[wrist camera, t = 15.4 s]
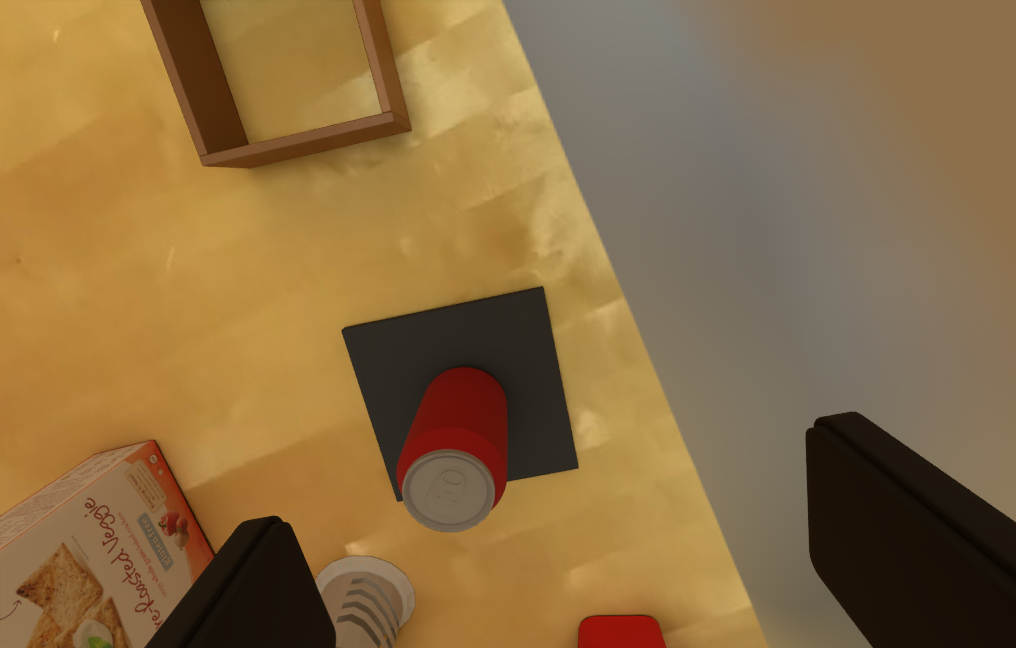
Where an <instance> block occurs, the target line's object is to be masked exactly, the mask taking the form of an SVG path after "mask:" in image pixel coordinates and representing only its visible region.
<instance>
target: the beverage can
mask: <svg viewBox="0 0 1016 648" xmlns="http://www.w3.org/2000/svg"><path fill="white" fill-rule="evenodd" d="M507 445H508V430H507V400H506V396H505V393H504V391H503V389H502V387H501V386H500V384H499V383H498V382H497V381H496V380H495V379H494V378H493V377H492V376H490V375H489V374H487V373H485V372H484V371H481V370H478V369H475V368H469V367H459V368H453V369H450V370H447V371H445V372H443V373H441V374H440V375H438V376H437V377H436V378H435V379H434V380H433V381H432V382H431V383H430V384H429V386H428V388H427V390H426V392H425V394H424V397H423V399H422V401H421V404H420V406H419V408H418V411H417V413H416V416H415V418H414V421H413V423H412V426H411V429H410V431H409V434H408V436H407V439H406V442H405V444H404V447H403V450H402V452H401V455H400V458H399V461H398V464H397V473H396V475H397V483H398V487H399V490H400V492H401V494H402V497H403V501H404V504H405V506H406V508H407V510H408V512H409V513H410V514H411V516H412V517H413V518H414V519H415V520H417V521H418V522H419V523H421V524H422V525H424V526H426V527H428V528H430V529H433V530H436V531H440V532H460V531H464V530H467V529H470V528H472V527H474V526H476V525H477V524H479V523H480V522H481V521H483V520H484V519H485V518H486V516H487V515H488V514H489V512H490V511H491V510H492V509H493V508H494V507H495V506H496V504H497V503H498V502H499V500H500V499H501V497H502V495H503V493H504V491H505V487H506V483H507Z"/></svg>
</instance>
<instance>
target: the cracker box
mask: <svg viewBox="0 0 1016 648" xmlns="http://www.w3.org/2000/svg"><path fill="white" fill-rule="evenodd" d="M213 558H214V555H213V554H212V552H211V550H210V548H209V546H208V544H207V542H206V540H205V538H204V536H203V534H202V532H201V530H200V528H199V526H198V525H197V523H196V521H195V519H194V517H193V515H192V513H191V511H190V509H189V507H188V505H187V503H186V501H185V499H184V497H183V496H182V494H181V492H180V490H179V488H178V486H177V484H176V482H175V480H174V478H173V476H172V474H171V473H170V471H169V469H168V467H167V465H166V463H165V461H164V459H163V457H162V455H161V453H160V451H159V449H158V447H157V445H156V443H155V441H153V440H151V441H148V442H143V443H139V444H135V445H131V446H127V447H123V448H119V449H115V450H111V451H106V452H103V453H99V454H95V455H93V456H91V457H90V458H88V459H86V460H85V461H83V462H82V463H80V464H79V465H77V466H76V467H74V468H73V469H71V470H70V471H68V472H66V473H65V474H63V475H62V476H60V477H59V478H57V479H56V480H54V481H53V482H51V483H50V484H48V485H46V486H45V487H43V488H42V489H40V490H39V491H37V492H36V493H34V494H33V495H31V496H30V497H28V498H27V499H25V500H24V501H22V502H21V503H19V504H18V505H16V506H14V507H13V508H11V509H10V510H8V511H7V512H5V513H4V514H2V515H1V516H0V648H144V647H145V646H146V645H147V643H148V642H149V641H150V639H151V638H152V637H153V636H154V634H155V633H156V632H157V630H158V629H159V628H160V626H161V625H162V624H163V623H164V621H165V620H166V619H167V617H168V616H169V615H170V614H171V612H172V611H173V610H174V608H175V607H176V606H177V604H178V603H179V602H180V601H181V599H182V598H183V597H184V595H185V594H186V593H187V592H188V590H189V589H190V588H191V586H192V585H193V584H194V582H195V581H196V580H197V579H198V577H199V576H200V575H201V573H202V572H203V571H204V570H205V568H206V567H207V566H208V564H209V563H210V562H211V560H212V559H213Z"/></svg>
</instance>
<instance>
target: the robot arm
mask: <svg viewBox="0 0 1016 648" xmlns="http://www.w3.org/2000/svg"><path fill="white" fill-rule="evenodd" d="M806 465H807V495H808V527H809V552H810V558H811V561H812V564H813V566H814V568H815V570H816V572H817V574H818V575H819V577H820V578H821V580H822V581H823V582H824V584H825V585H826V586H827V587H828V589H829V590H830V591H831V593H832V594H833V595H834V597H835V598H836V599H837V601H838V602H839V603H840V605H841V606H842V607H843V609H844V610H845V611H846V613H847V614H848V615H849V617H850V618H851V619H852V621H853V622H854V623H855V625H856V626H857V627H858V629H859V630H860V631H861V632H862V634H863V635H864V636H865V638H866V639H867V640H868V642H869V643H870V644H871V646H872V647H873V648H1016V522H1015V521H1013V520H1012V519H1010V518H1009V517H1007V516H1006V515H1005V514H1003V513H1002V512H1000V511H999V510H997V509H996V508H994V507H993V506H992V505H990V504H989V503H987V502H986V501H984V500H983V499H982V498H980V497H979V496H977V495H976V494H974V493H973V492H971V491H970V490H969V489H967V488H966V487H964V486H963V485H961V484H960V483H958V482H957V481H956V480H954V479H953V478H951V477H950V476H949V475H947V474H946V473H944V472H943V471H941V470H940V469H939V468H937V467H936V466H934V465H933V464H931V463H930V462H929V461H927V460H926V459H924V458H923V457H921V456H920V455H919V454H917V453H916V452H914V451H913V450H911V449H910V448H909V447H907V446H905V445H904V444H903V443H901V442H900V441H899V440H897V439H896V438H894V437H893V436H891V435H890V434H889V433H887V432H885V431H884V430H883V429H881V428H880V427H878V426H877V425H876V424H874V423H873V422H871V421H870V420H868V419H867V418H866V417H864V416H863V415H861V414H859V413H857V412H847V413H841V414H835V415H830V416H824V417H820V418H818V419H816V421H815V423H814V427H813V428H809V429H808V430H807V431H806ZM335 647H336V631H335V627H334V625H333V623H332V620H331V618H330V616H329V613H328V611H327V609H326V606H325V604H324V601H323V599H322V597H321V594H320V592H319V590H318V587H317V585H316V583H315V580H314V578H313V576H312V573H311V571H310V569H309V566H308V564H307V562H306V559H305V557H304V555H303V552H302V550H301V547H300V545H299V543H298V540H297V538H296V536H295V533H294V531H293V529H292V527H291V525H290V524H289V523H288V522H283V521H282V519H281V518H279V517H278V516H269V517H263V518H258V519H252V520H247V521H244V522H242V523H241V524H240V525H239V526H238V527H237V528H236V529H235V531H234V532H233V533H232V535H231V536H230V537H229V538H228V540H227V541H226V542H225V544H224V545H223V546H222V548H221V549H220V550H219V551H218V553H217V554H216V555H215V557H214V558H213V559H212V560H211V562H210V563H209V564H208V566H207V567H206V568H205V570H204V571H203V572H202V573H201V575H200V576H199V577H198V579H197V580H196V581H195V582H194V584H193V585H192V586H191V588H190V589H189V590H188V592H187V593H186V594H185V595H184V597H183V598H182V599H181V601H180V602H179V603H178V604H177V606H176V607H175V608H174V610H173V611H172V612H171V614H170V615H169V616H168V617H167V619H166V620H165V621H164V623H163V624H162V625H161V626H160V628H159V629H158V630H157V632H156V633H155V634H154V636H153V637H152V638H151V639H150V641H149V642H148V643H147V645H146V646H145V647H144V648H335Z"/></svg>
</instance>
